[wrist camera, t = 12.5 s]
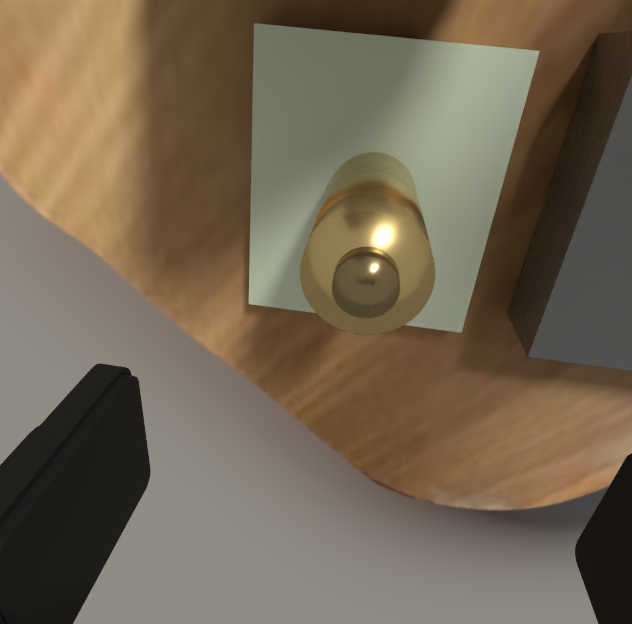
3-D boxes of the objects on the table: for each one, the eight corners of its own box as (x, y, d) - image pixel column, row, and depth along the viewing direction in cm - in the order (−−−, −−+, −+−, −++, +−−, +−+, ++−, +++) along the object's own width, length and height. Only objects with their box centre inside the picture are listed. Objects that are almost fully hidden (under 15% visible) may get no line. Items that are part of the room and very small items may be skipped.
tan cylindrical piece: (332, 147, 26) (300, 211, 16) (424, 157, 26) (452, 230, 15) (324, 233, 29) (291, 338, 18) (407, 243, 28) (422, 356, 18)
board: (260, 24, 25) (254, 23, 24) (531, 50, 24) (539, 50, 23) (253, 293, 33) (248, 304, 32) (458, 321, 32) (461, 332, 31)
